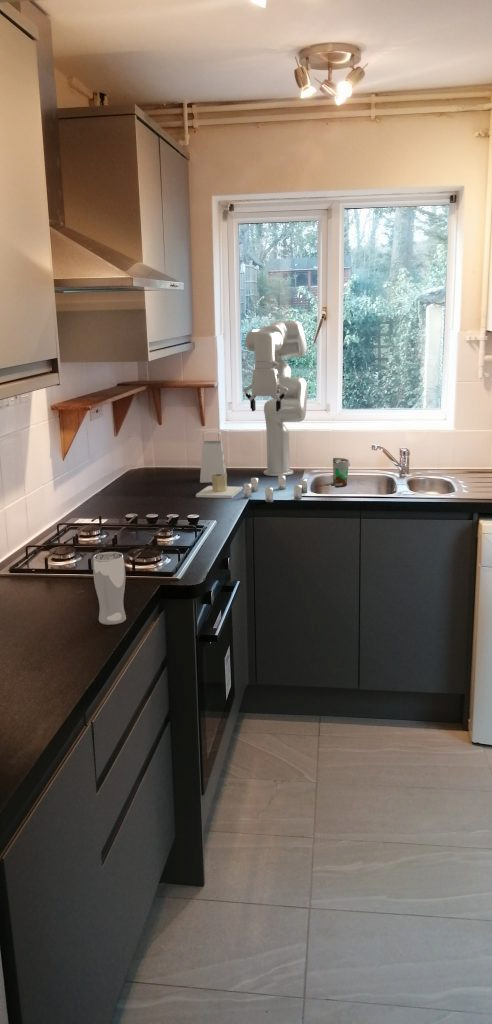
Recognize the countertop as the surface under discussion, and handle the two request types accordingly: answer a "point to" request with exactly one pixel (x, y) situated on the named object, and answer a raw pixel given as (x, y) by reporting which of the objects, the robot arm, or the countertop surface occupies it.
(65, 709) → the countertop surface
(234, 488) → the mat
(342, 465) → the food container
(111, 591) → the beer glass
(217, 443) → the grater
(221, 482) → the faceted candle holder
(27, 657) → the countertop surface
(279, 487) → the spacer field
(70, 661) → the countertop surface
